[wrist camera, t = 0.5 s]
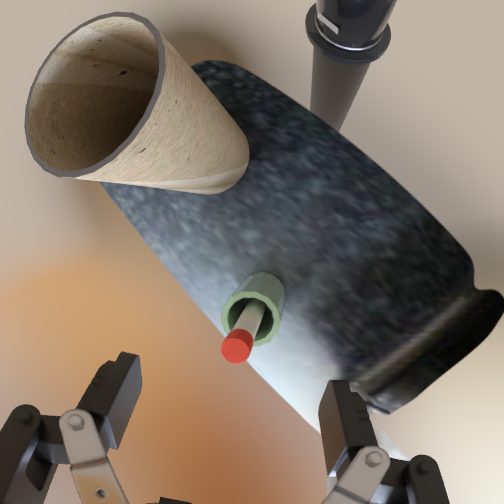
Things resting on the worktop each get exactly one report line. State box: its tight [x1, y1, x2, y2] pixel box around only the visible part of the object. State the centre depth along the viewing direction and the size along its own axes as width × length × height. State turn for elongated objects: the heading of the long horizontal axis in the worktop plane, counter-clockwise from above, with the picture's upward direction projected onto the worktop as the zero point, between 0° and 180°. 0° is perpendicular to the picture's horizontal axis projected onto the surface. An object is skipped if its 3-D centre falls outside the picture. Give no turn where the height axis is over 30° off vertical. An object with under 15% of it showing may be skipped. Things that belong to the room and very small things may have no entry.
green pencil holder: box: [221, 272, 285, 347], centre depth 35 cm, size 6×6×10 cm
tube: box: [25, 12, 250, 195], centre depth 26 cm, size 10×10×25 cm
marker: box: [221, 298, 267, 364], centre depth 31 cm, size 2×2×16 cm
